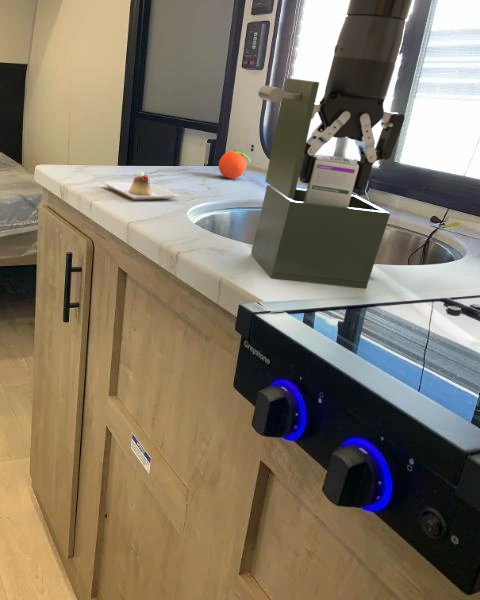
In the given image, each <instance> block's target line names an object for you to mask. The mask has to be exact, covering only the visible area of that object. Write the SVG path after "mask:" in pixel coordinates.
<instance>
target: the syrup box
mask: <svg viewBox="0 0 480 600" xmlns="http://www.w3.org/2000/svg"><path fill="white" fill-rule="evenodd" d="M314 156H315V157H316V159H315V163H314V167H313V171H312V175H311V179H310V182H309V183H307V186H306V189H305V190H306V194H305V198H304V202H307V203H315V204H324V205H333V206H341V207H349V203H350V199H351V195H353V190H354V188H353V187H354V184H355V180H356V176H357V173H358V169H359V165H358V164H357V160H354V159H351V158H347V157H341V156H335V155H323V154H322V155H321V154H315V155H314Z"/></svg>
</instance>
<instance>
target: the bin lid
mask: <svg viewBox="0 0 480 600" xmlns="http://www.w3.org/2000/svg"><path fill="white" fill-rule="evenodd" d="M319 85H320V82H319V81H313V80H306V79H299V78H298V79H297V78H292V77H291V78H289V77H286V78H285V81H284V86H283V89H282V88H281V87H276V86H271V85H263V86H261V87H260V88H259V90H258V97H259V98H260V99H261V100H264V101H267V102H271V103H279V102H280V106H279V110H278V115H277V121H276V126H275V131H274V135H273V141H272V146H271V151H270V157H269V161H268V166H267V172H266V176H265V183H266V184H267V185H271V186H272V187H274V188H275V189H277V190H278V191H279V192H281V193H282V194H284V195H285V196H286V197H288V198H294V196H295V191H296V189H297V186H298V183H299V182H298V181H299V173H300V168H301V164H302V159H303V155H304V150H305V146H306V142H307V140H308V137H309V131H310V126H311V123H312V119H311V118H312V114H313V109H314V105H315V103H316V100H317V95H318V91H319Z"/></svg>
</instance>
